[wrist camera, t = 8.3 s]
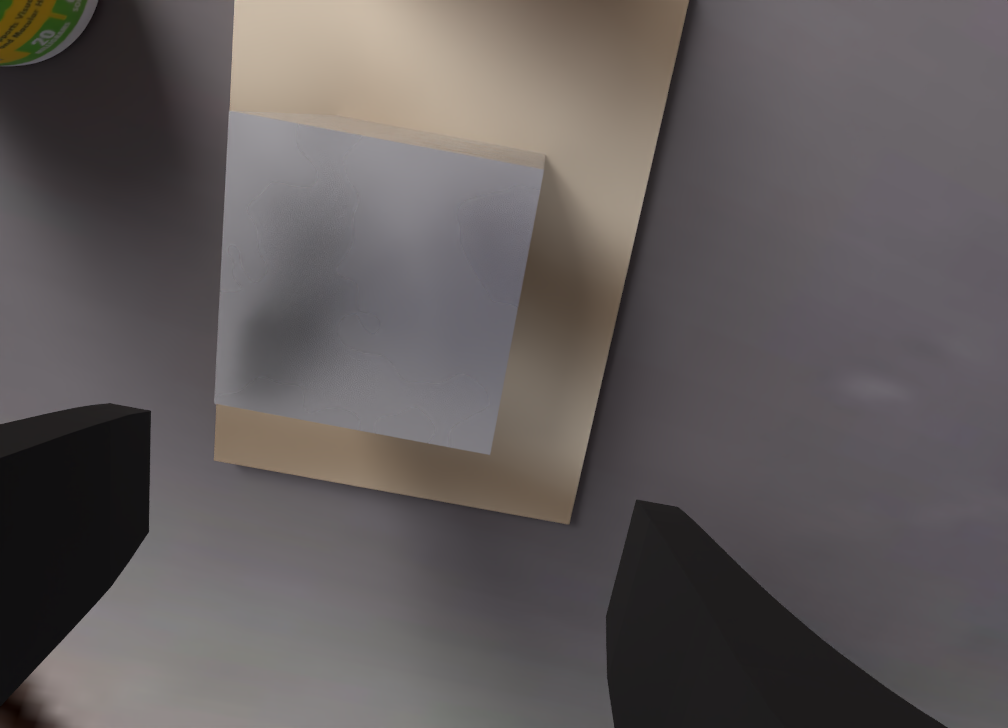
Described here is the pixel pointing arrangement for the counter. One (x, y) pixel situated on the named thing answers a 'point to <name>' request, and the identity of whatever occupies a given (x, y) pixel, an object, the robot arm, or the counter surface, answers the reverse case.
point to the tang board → (558, 221)
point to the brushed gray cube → (371, 275)
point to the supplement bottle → (40, 28)
